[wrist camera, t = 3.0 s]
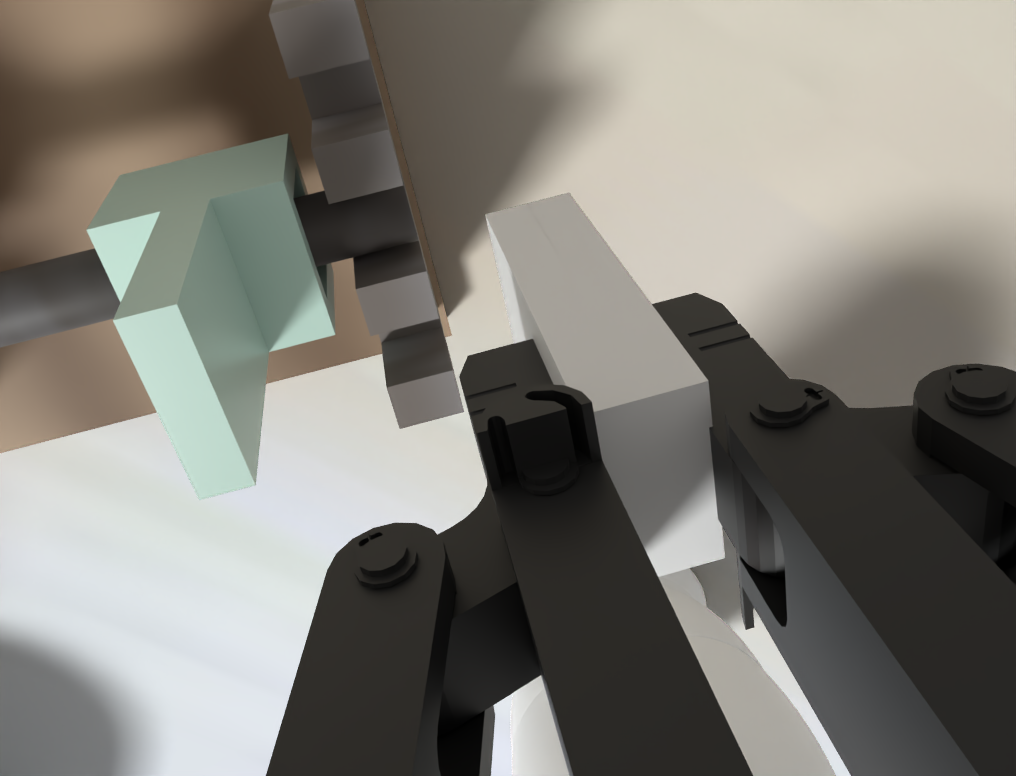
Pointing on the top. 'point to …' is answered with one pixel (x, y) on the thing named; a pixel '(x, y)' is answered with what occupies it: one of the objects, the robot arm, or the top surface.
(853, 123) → the top surface
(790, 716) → the jar
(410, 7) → the top surface
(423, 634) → the robot arm
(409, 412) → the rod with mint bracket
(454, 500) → the top surface
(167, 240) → the mint green stepped block
